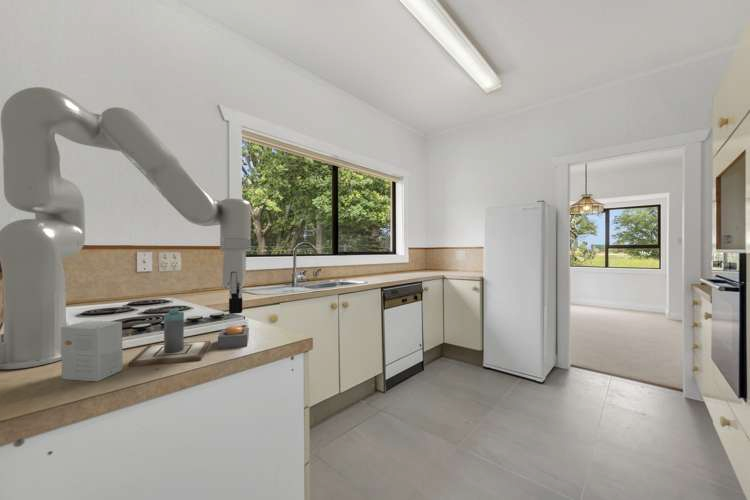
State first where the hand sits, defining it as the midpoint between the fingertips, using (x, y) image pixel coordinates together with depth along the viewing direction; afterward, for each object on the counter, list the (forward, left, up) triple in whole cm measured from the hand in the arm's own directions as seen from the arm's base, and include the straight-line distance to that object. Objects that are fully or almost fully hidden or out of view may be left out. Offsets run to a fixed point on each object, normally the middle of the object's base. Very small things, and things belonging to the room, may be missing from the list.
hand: (235, 312), depth 85 cm
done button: (0, 0, -6) cm, 6 cm away
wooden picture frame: (-13, -5, -8) cm, 16 cm away
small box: (-25, -14, -9) cm, 30 cm away
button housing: (0, 0, -8) cm, 8 cm away
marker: (-13, -5, -8) cm, 16 cm away
